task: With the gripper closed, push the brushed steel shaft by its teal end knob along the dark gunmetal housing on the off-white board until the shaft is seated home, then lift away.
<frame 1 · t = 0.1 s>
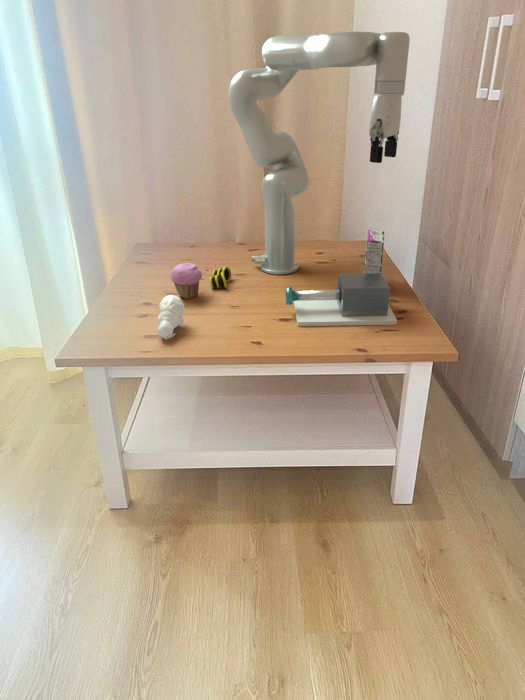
hand: (382, 159, 144), 37 cm above the table, tool pointing down, fingers open, 9 cm apart
opera glasses: (220, 285, 167), on the table
candy bar box: (371, 288, 163), on the table
cupcake: (188, 296, 159), on the table
mounting board: (342, 312, 148), on the table
white figurine: (170, 332, 139), on the table
steel shaft: (327, 295, 145), point 5 cm above the table, slide at 7.0 cm
shaft housing: (360, 312, 148), resting on mounting board
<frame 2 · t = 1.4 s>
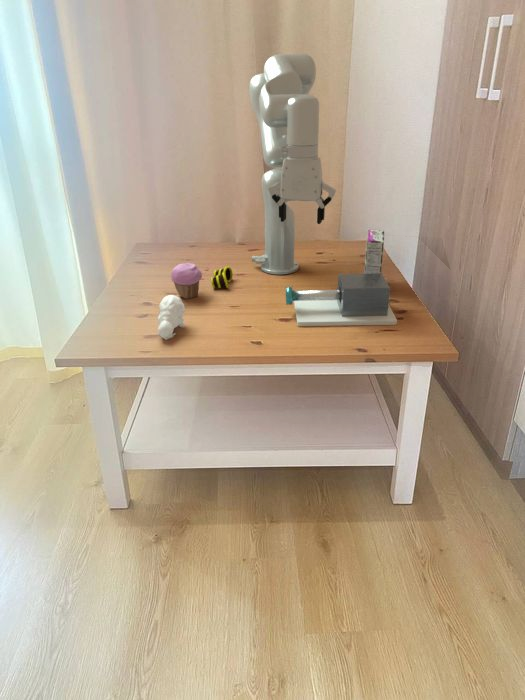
hand: (301, 221, 140), 24 cm above the table, tool pointing down, fingers open, 9 cm apart
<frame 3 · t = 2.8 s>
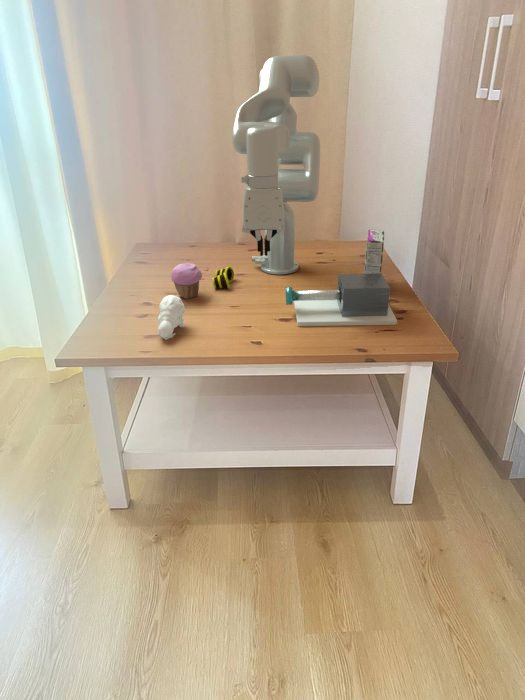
hand: (263, 253, 139), 17 cm above the table, tool pointing down, fingers closed
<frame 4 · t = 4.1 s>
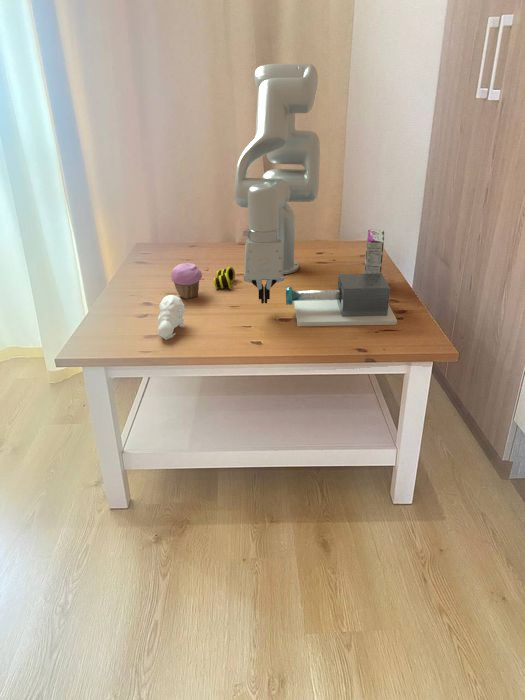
hand: (264, 301, 146), 4 cm above the table, tool pointing down, fingers closed
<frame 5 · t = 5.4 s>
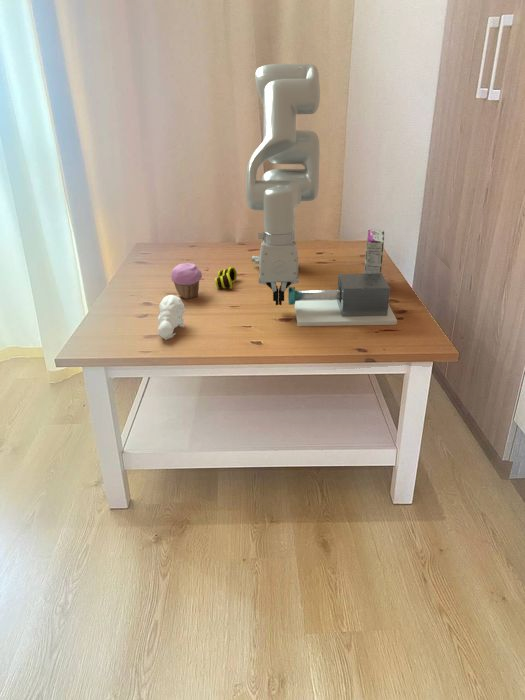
hand: (278, 303, 146), 3 cm above the table, tool pointing down, fingers closed
steel shaft: (330, 295, 145), point 5 cm above the table, slide at 6.3 cm, touching gripper
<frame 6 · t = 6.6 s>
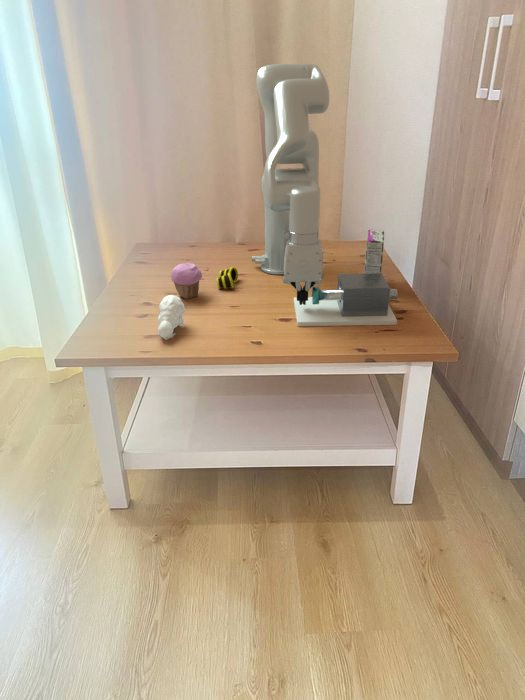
hand: (302, 302, 146), 3 cm above the table, tool pointing down, fingers closed
steel shaft: (354, 294, 145), point 5 cm above the table, slide at -0.1 cm, touching gripper
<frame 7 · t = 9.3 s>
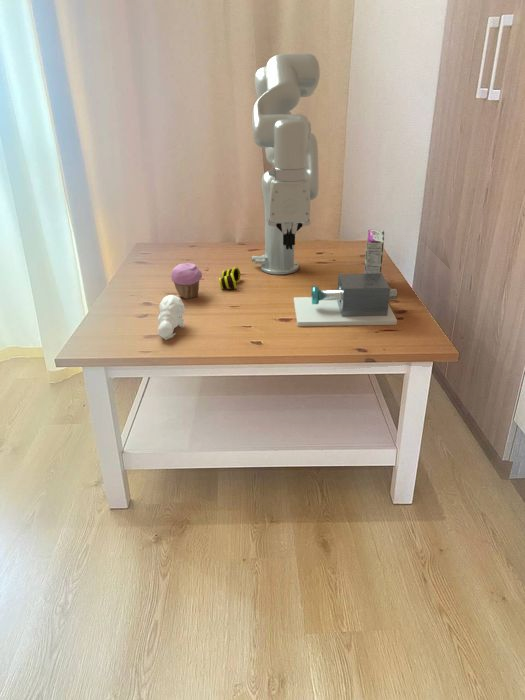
hand: (288, 247, 139), 19 cm above the table, tool pointing down, fingers closed
steel shaft: (353, 294, 145), point 5 cm above the table, slide at 0.0 cm
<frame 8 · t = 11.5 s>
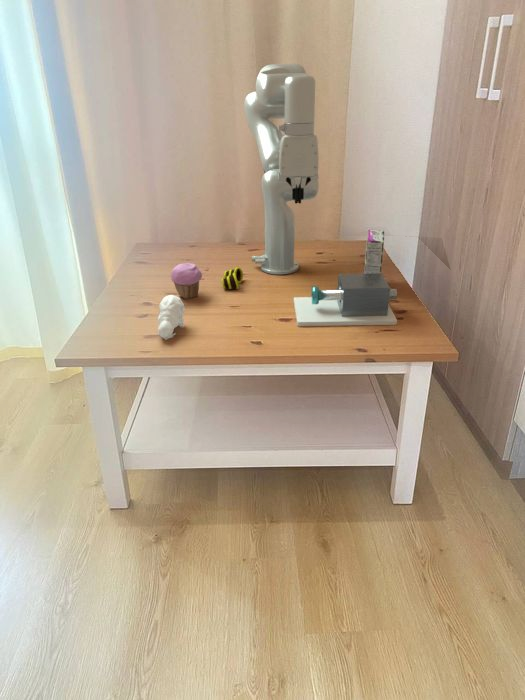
hand: (297, 202, 146), 27 cm above the table, tool pointing down, fingers closed
at the end: steel shaft slide at 0.0 cm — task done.
